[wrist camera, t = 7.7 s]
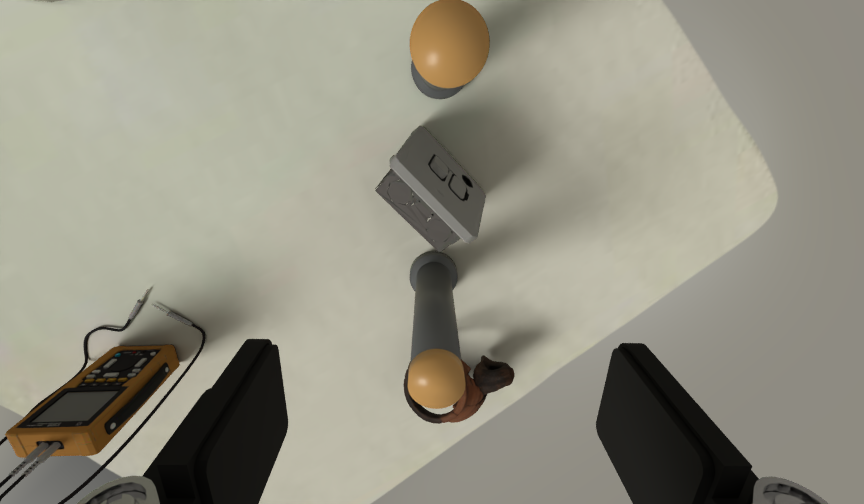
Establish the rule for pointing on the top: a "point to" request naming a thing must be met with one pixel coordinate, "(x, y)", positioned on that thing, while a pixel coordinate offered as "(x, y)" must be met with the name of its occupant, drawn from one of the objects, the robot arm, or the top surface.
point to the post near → (447, 47)
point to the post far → (435, 334)
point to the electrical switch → (433, 192)
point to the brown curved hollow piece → (468, 391)
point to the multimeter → (95, 403)
